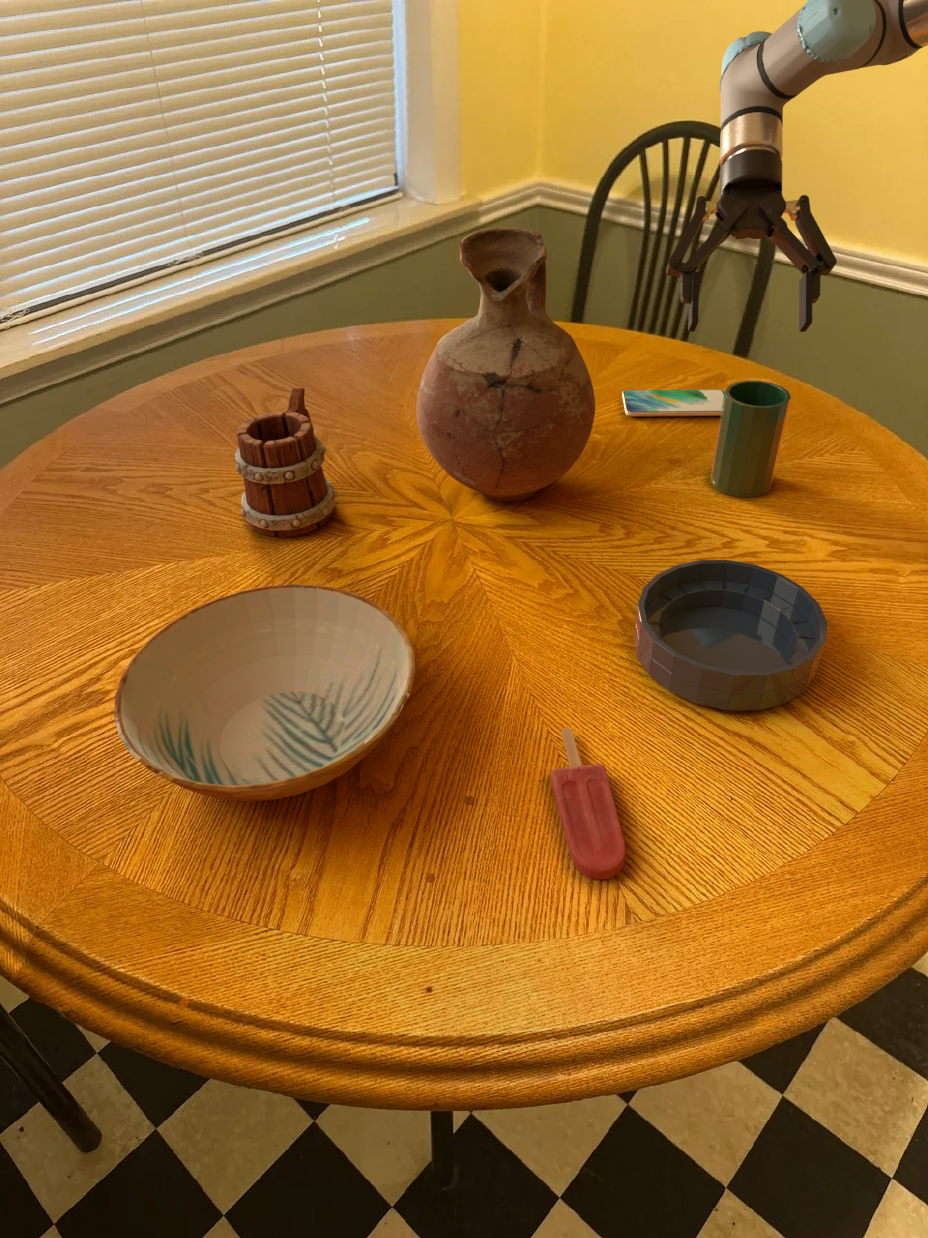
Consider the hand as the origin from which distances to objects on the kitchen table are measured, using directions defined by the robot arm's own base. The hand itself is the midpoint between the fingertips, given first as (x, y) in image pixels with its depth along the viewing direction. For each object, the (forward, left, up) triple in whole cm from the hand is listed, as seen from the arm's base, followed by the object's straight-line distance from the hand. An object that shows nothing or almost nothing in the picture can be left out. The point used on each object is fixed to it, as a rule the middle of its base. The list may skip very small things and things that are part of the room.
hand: (749, 327), depth 107 cm
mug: (+59, -3, -16) cm, 61 cm away
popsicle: (+42, +51, -16) cm, 67 cm away
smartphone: (+2, -12, -16) cm, 20 cm away
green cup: (+4, +10, -16) cm, 19 cm away
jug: (+32, 0, -16) cm, 36 cm away
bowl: (+65, +36, -16) cm, 75 cm away
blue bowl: (+22, +38, -16) cm, 46 cm away
